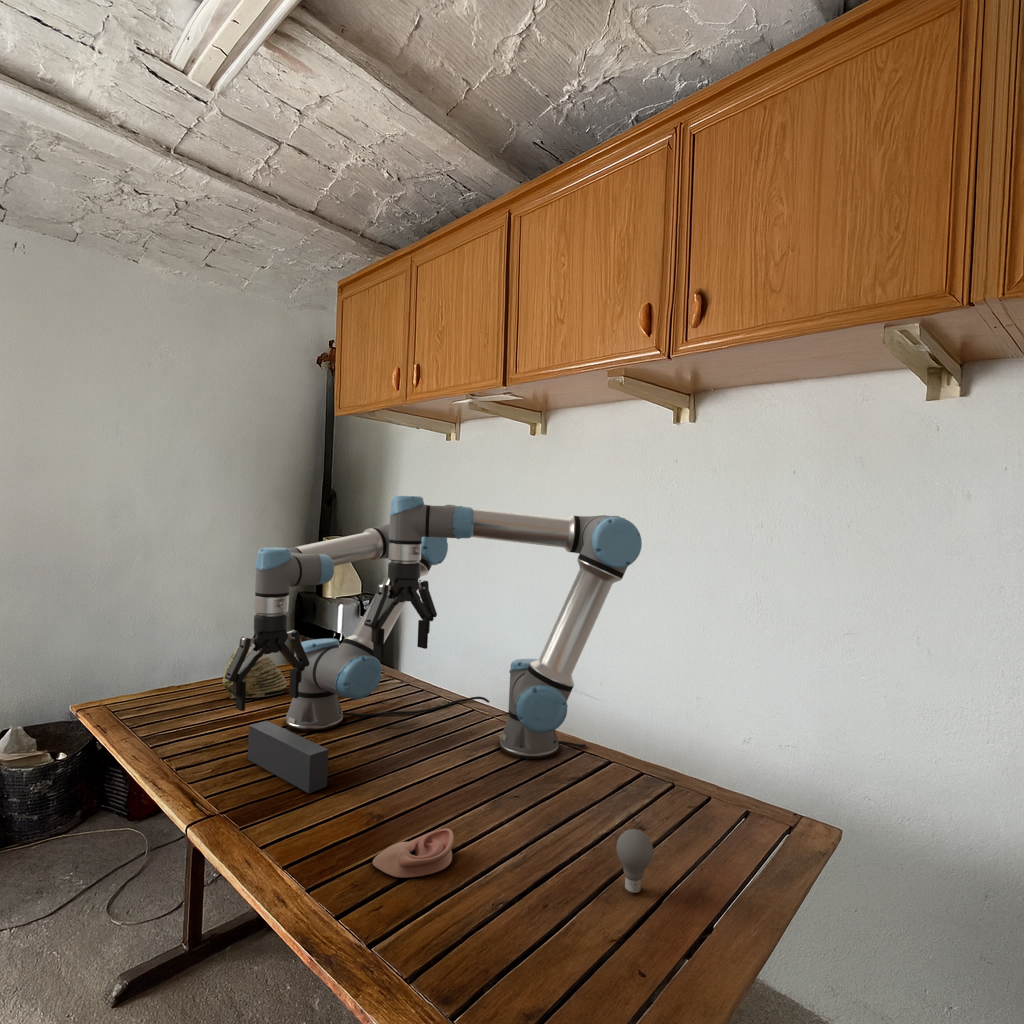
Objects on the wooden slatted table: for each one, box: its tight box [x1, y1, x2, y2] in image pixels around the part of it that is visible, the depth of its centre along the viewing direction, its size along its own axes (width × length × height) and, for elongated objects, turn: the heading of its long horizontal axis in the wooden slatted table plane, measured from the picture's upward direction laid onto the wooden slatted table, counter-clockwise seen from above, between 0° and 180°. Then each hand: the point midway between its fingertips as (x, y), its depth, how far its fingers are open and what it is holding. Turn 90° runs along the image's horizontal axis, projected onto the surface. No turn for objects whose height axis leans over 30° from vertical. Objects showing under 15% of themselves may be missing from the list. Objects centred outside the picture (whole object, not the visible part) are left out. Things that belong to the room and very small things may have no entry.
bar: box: [247, 720, 329, 794], centre depth 145 cm, size 25×5×8 cm, turn 51°
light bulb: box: [615, 828, 654, 894], centre depth 106 cm, size 6×6×10 cm
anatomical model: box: [372, 828, 455, 879], centre depth 112 cm, size 13×4×12 cm
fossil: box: [222, 646, 288, 699], centre depth 198 cm, size 9×18×15 cm, turn 132°
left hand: (267, 703), depth 149 cm, fingers open, 13 cm apart
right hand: (400, 652), depth 148 cm, fingers open, 13 cm apart
